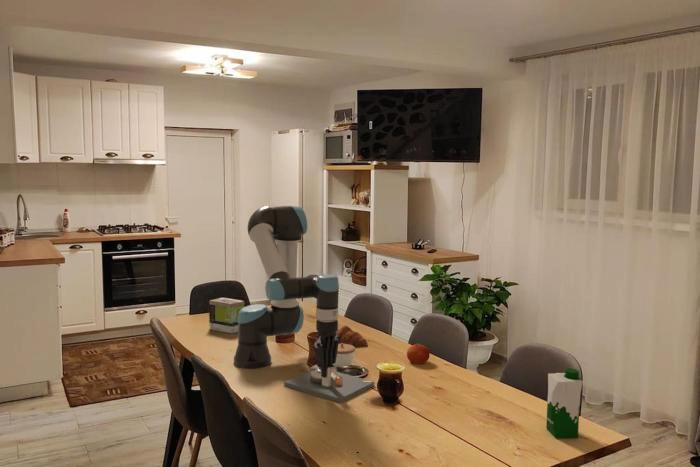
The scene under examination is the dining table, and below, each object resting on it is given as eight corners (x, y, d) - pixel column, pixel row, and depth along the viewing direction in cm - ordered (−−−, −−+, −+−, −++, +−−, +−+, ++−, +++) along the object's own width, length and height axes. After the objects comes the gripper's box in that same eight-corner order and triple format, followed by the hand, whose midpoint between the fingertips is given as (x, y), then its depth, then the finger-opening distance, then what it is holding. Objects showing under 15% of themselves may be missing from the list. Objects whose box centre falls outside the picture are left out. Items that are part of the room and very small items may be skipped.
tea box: (245, 329, 296) (245, 300, 294) (230, 334, 287) (230, 304, 286) (223, 325, 304) (222, 296, 302) (208, 329, 295) (208, 299, 294)
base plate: (284, 385, 221) (284, 381, 220) (319, 370, 237) (319, 366, 237) (340, 402, 205) (340, 398, 205) (374, 385, 222) (374, 381, 222)
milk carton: (582, 439, 181) (586, 375, 179) (553, 440, 180) (557, 375, 178) (569, 427, 189) (573, 365, 187) (541, 427, 189) (545, 366, 186)
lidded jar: (351, 371, 238) (352, 348, 237) (325, 368, 240) (326, 346, 239) (357, 362, 248) (357, 340, 247) (331, 360, 250) (332, 338, 249)
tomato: (403, 363, 249) (403, 344, 248) (411, 357, 257) (412, 339, 256) (424, 367, 244) (425, 348, 244) (432, 361, 253) (432, 342, 252)
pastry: (357, 337, 287) (358, 321, 286) (368, 346, 272) (368, 329, 271) (323, 339, 282) (324, 323, 281) (332, 349, 267) (333, 331, 266)
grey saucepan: (305, 376, 226) (305, 361, 225) (329, 372, 230) (330, 358, 229) (326, 396, 206) (327, 380, 206) (353, 392, 210) (353, 376, 210)
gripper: (323, 325, 200) (322, 393, 202) (347, 317, 210) (345, 382, 213) (306, 321, 204) (305, 388, 207) (330, 314, 215) (329, 377, 217)
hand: (326, 385), depth 210 cm, fingers closed
